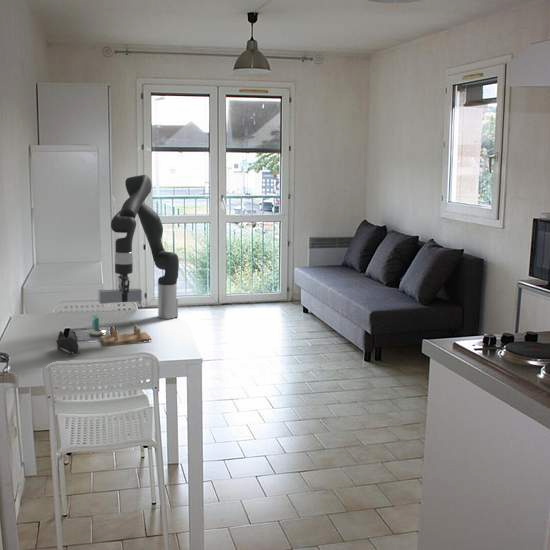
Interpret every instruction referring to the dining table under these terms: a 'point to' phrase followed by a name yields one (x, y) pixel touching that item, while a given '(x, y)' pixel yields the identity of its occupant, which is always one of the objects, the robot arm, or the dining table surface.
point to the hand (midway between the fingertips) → (123, 300)
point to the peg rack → (125, 337)
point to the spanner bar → (119, 296)
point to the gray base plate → (92, 337)
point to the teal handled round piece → (96, 327)
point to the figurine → (67, 344)
